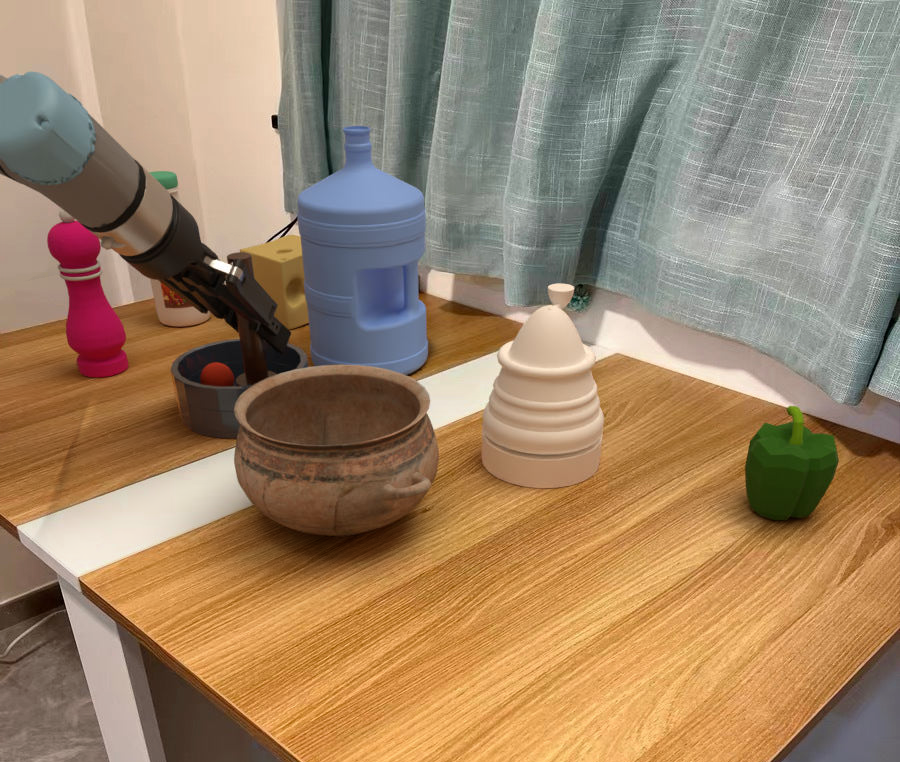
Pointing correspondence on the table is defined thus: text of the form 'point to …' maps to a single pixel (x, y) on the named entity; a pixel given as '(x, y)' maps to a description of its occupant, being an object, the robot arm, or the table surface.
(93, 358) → the pepper mill
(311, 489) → the cooking pot
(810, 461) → the bell pepper
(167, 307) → the milk bottle
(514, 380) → the honey pot
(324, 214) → the water jug
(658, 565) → the table surface
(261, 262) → the cheese
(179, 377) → the bowl
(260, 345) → the wooden peg on base
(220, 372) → the ball
